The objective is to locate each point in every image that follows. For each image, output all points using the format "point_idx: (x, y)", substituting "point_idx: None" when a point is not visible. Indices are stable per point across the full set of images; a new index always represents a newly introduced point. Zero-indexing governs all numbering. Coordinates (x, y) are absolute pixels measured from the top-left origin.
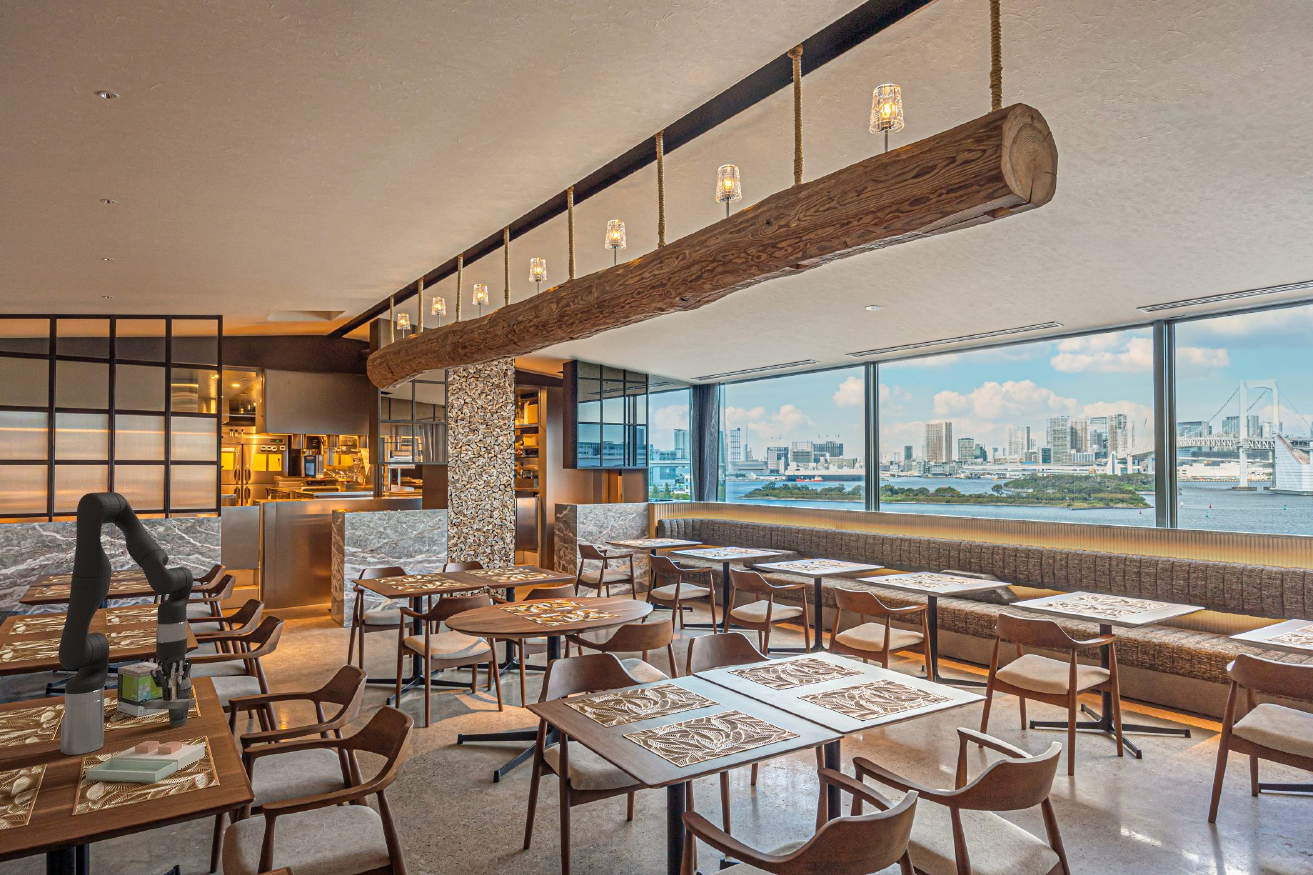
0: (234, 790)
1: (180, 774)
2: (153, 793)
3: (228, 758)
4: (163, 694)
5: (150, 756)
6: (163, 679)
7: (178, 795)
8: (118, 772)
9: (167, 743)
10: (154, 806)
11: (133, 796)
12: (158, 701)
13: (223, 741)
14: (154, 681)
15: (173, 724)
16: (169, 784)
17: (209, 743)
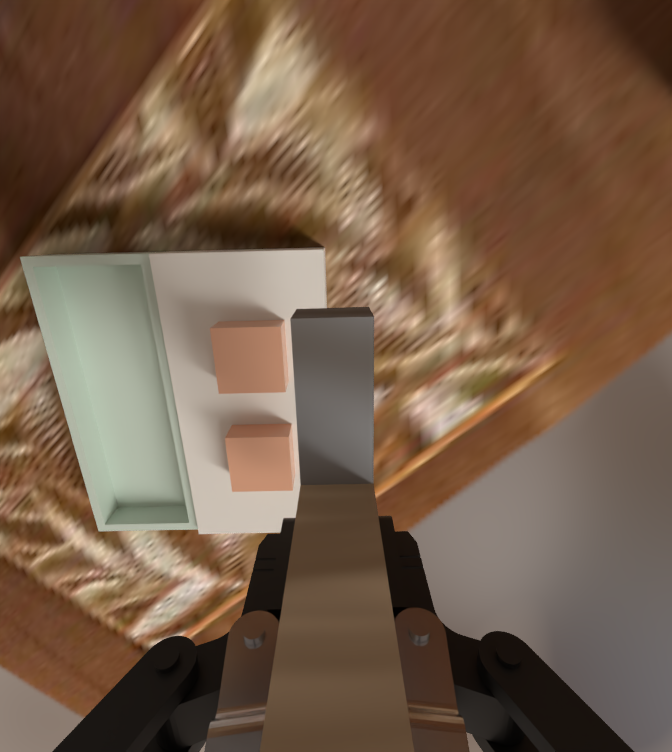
0: None
1: (189, 532)
2: (59, 555)
3: None
4: (253, 577)
5: (198, 420)
6: None
7: (75, 616)
8: (65, 402)
9: (267, 446)
10: (4, 608)
11: (22, 520)
12: (314, 440)
13: (479, 470)
14: (68, 743)
15: None
16: (121, 552)
17: (458, 436)
